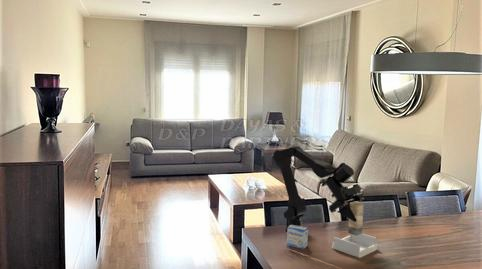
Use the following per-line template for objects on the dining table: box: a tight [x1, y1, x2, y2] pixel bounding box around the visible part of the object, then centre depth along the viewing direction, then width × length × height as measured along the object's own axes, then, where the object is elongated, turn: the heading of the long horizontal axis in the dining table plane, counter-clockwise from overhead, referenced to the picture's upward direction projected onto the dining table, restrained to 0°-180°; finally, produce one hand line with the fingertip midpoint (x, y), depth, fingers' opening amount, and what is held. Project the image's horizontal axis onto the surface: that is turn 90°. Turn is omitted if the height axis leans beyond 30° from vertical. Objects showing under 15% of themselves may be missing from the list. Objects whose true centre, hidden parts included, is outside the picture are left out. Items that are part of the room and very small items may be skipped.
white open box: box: [331, 233, 378, 259], centre depth 172 cm, size 13×13×6 cm
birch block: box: [347, 201, 364, 236], centre depth 171 cm, size 4×4×13 cm
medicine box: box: [286, 225, 309, 249], centre depth 175 cm, size 8×4×9 cm, turn 62°
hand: (358, 220), depth 170 cm, fingers closed on birch block, 4 cm apart
